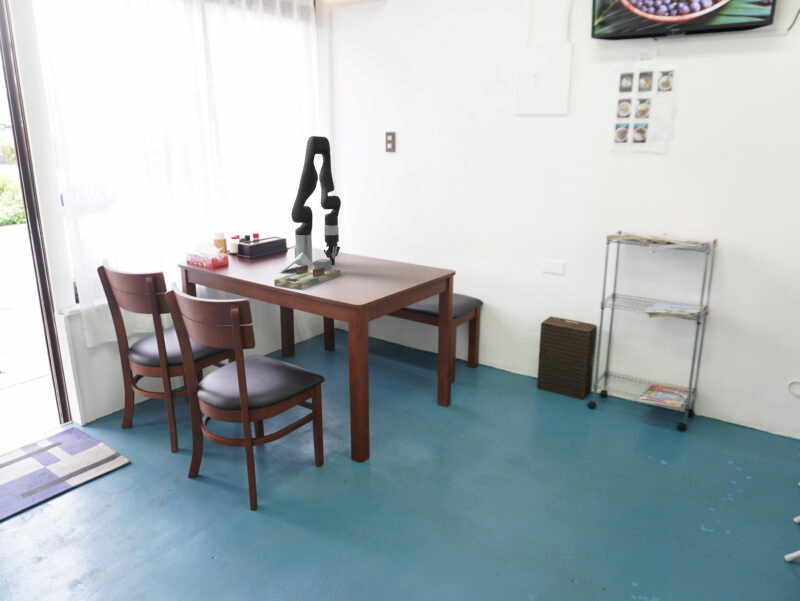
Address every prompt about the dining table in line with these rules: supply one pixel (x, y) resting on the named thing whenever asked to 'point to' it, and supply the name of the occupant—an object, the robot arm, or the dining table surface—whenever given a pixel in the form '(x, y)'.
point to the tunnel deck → (306, 277)
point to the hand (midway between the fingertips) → (332, 264)
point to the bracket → (302, 259)
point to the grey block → (324, 264)
